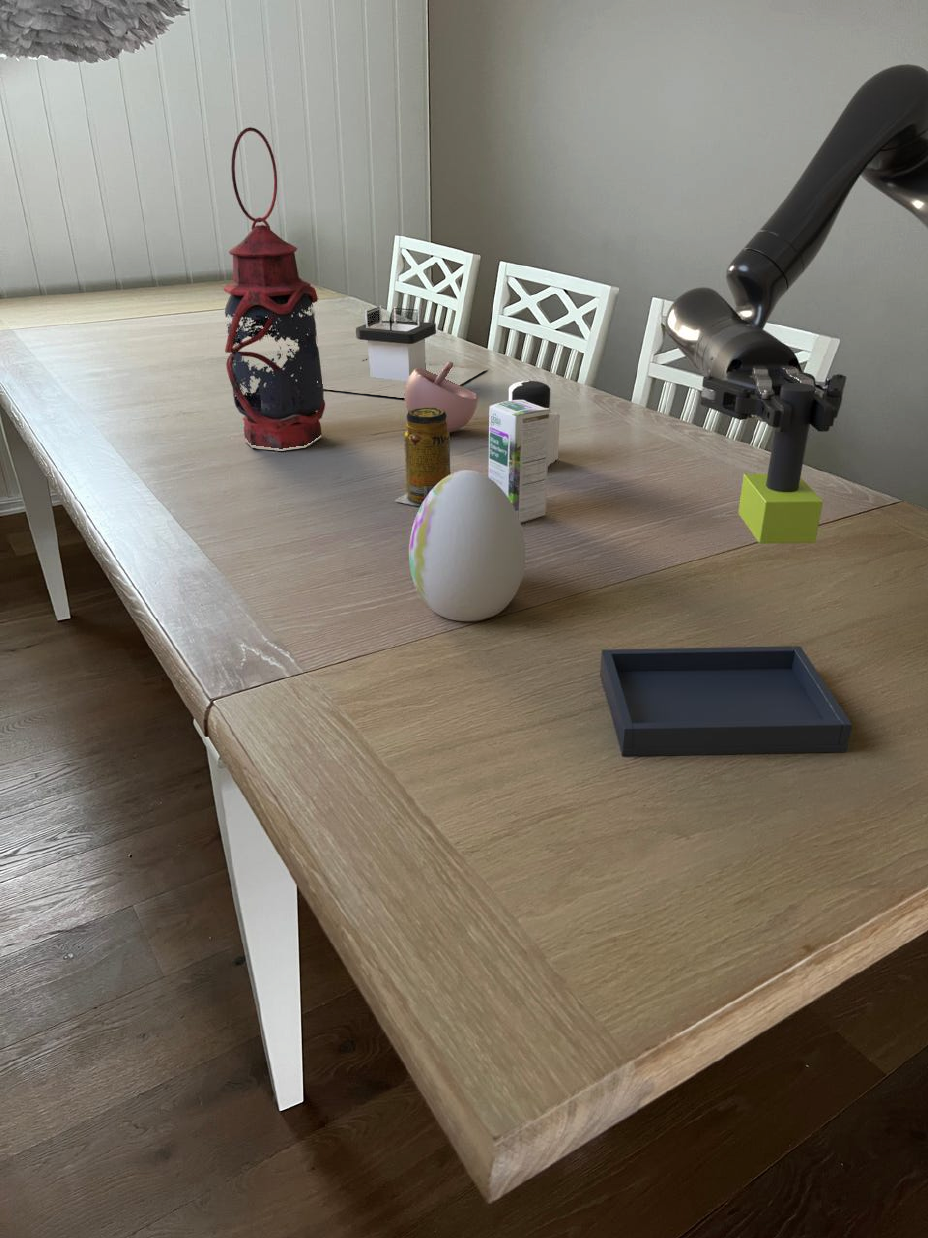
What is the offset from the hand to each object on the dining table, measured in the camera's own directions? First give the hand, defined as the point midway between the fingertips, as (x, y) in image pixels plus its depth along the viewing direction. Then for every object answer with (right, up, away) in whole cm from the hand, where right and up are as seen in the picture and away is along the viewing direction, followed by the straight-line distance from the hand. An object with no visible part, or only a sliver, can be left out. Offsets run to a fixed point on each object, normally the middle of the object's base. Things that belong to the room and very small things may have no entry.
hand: (806, 420), depth 77 cm
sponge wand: (0, -8, +8) cm, 11 cm away
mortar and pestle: (-32, +14, +77) cm, 84 cm away
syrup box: (-22, -3, +45) cm, 50 cm away
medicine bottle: (-19, +7, +63) cm, 66 cm away
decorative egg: (-28, -15, +23) cm, 39 cm away
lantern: (-58, +12, +74) cm, 95 cm away
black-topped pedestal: (-42, +31, +107) cm, 119 cm away
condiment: (-33, 0, +50) cm, 60 cm away
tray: (-6, -25, +5) cm, 26 cm away
